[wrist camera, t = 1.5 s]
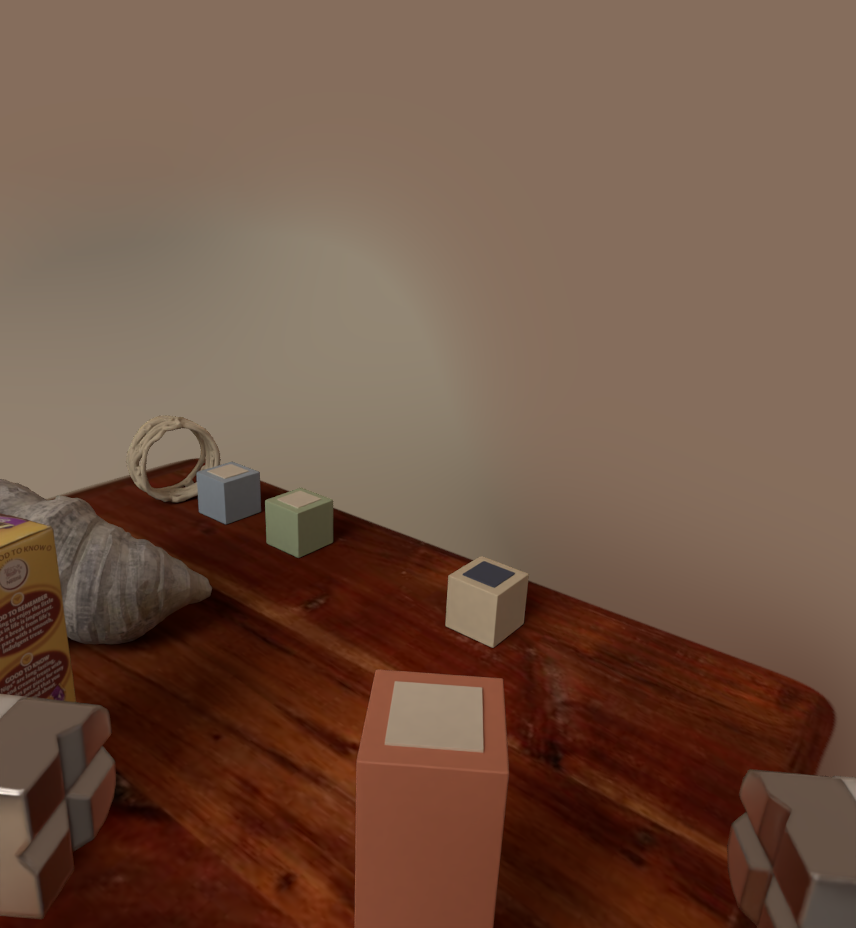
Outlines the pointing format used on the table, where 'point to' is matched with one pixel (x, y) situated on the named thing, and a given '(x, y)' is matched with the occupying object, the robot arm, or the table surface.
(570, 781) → the table surface
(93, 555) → the seashell
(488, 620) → the block
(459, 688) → the tall block
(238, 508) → the block
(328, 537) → the block
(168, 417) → the bracelet
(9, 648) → the candy box
